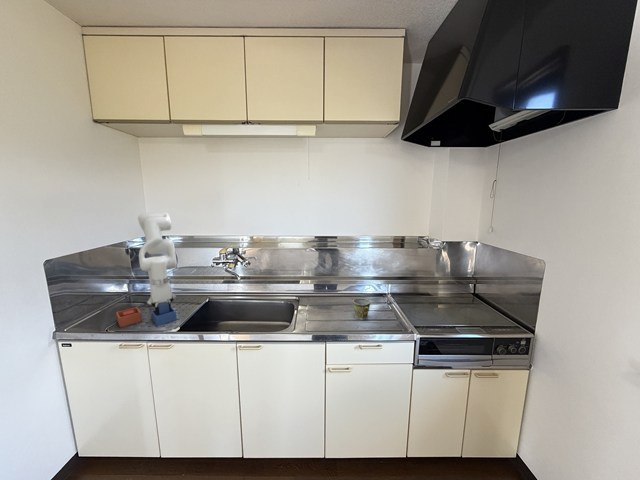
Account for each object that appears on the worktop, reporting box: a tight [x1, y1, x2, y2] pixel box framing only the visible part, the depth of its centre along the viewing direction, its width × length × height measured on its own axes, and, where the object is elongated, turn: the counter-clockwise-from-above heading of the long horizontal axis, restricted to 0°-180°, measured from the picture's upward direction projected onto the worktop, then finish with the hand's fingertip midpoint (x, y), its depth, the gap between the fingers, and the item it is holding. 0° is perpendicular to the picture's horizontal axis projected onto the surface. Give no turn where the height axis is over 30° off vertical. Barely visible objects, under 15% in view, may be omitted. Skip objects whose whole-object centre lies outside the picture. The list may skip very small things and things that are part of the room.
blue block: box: [158, 301, 169, 314], centre depth 156 cm, size 5×5×5 cm
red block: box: [122, 310, 135, 316], centre depth 155 cm, size 5×5×5 cm
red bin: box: [115, 306, 143, 328], centre depth 155 cm, size 10×10×6 cm
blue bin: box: [150, 306, 177, 327], centre depth 157 cm, size 10×10×6 cm
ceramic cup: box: [352, 297, 371, 321], centre depth 158 cm, size 13×10×10 cm
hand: (163, 311), depth 156 cm, fingers closed on blue block, 5 cm apart
